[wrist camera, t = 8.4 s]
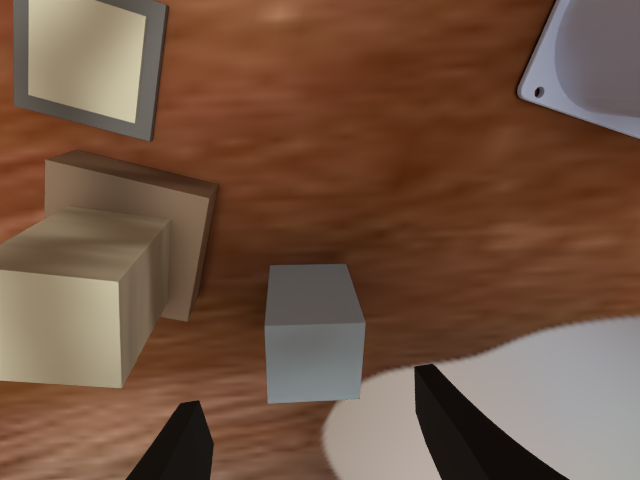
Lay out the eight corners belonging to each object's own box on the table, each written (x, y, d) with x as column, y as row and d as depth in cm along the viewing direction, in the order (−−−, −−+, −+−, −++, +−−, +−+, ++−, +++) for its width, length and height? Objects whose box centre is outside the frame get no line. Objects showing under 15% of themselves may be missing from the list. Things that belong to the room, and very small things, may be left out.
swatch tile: (168, 6, 17) (164, 3, 16) (152, 140, 19) (148, 141, 18) (19, -43, 15) (9, -48, 15) (20, 105, 18) (11, 106, 17)
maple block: (170, 219, 18) (118, 281, 12) (168, 300, 19) (121, 388, 14) (66, 206, 17) (-38, 266, 11) (74, 291, 19) (-15, 379, 13)
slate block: (345, 263, 22) (365, 322, 17) (342, 326, 24) (359, 398, 18) (270, 265, 22) (264, 325, 16) (272, 328, 24) (267, 403, 18)
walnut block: (219, 182, 20) (209, 198, 17) (199, 292, 23) (187, 321, 20) (80, 148, 19) (45, 159, 16) (74, 269, 21) (43, 296, 19)
